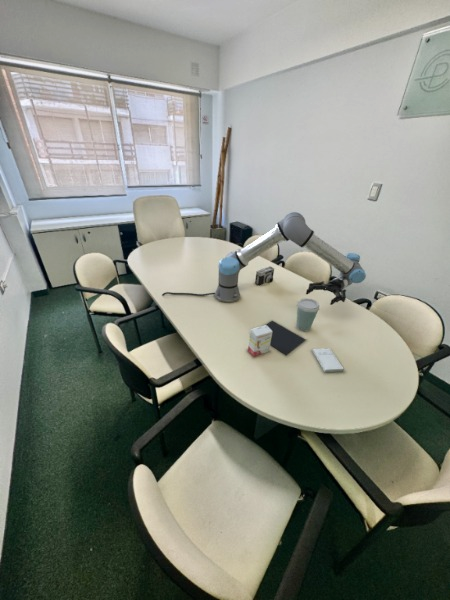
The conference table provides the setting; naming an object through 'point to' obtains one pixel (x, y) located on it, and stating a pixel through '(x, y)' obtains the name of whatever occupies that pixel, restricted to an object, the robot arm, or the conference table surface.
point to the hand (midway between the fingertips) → (318, 297)
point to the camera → (264, 276)
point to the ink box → (260, 340)
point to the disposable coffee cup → (306, 313)
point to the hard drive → (328, 360)
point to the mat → (283, 338)
